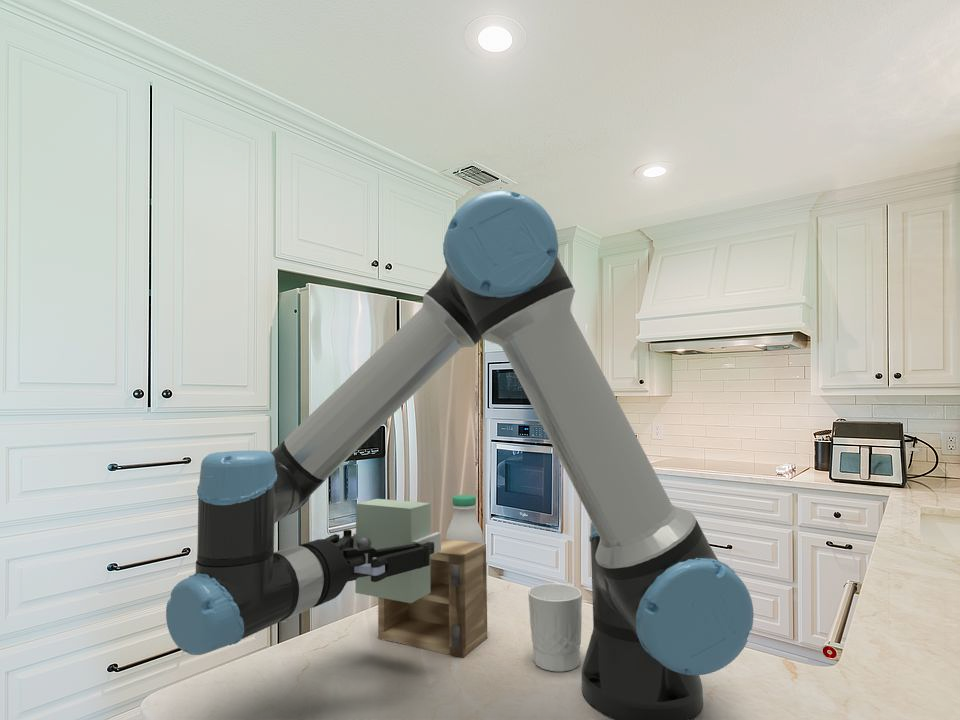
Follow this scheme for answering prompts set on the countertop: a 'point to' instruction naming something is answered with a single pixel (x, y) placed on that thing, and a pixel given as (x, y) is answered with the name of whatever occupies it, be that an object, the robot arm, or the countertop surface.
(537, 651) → the white cup
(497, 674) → the countertop surface
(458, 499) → the milk bottle
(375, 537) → the door panel
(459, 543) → the cabinet
